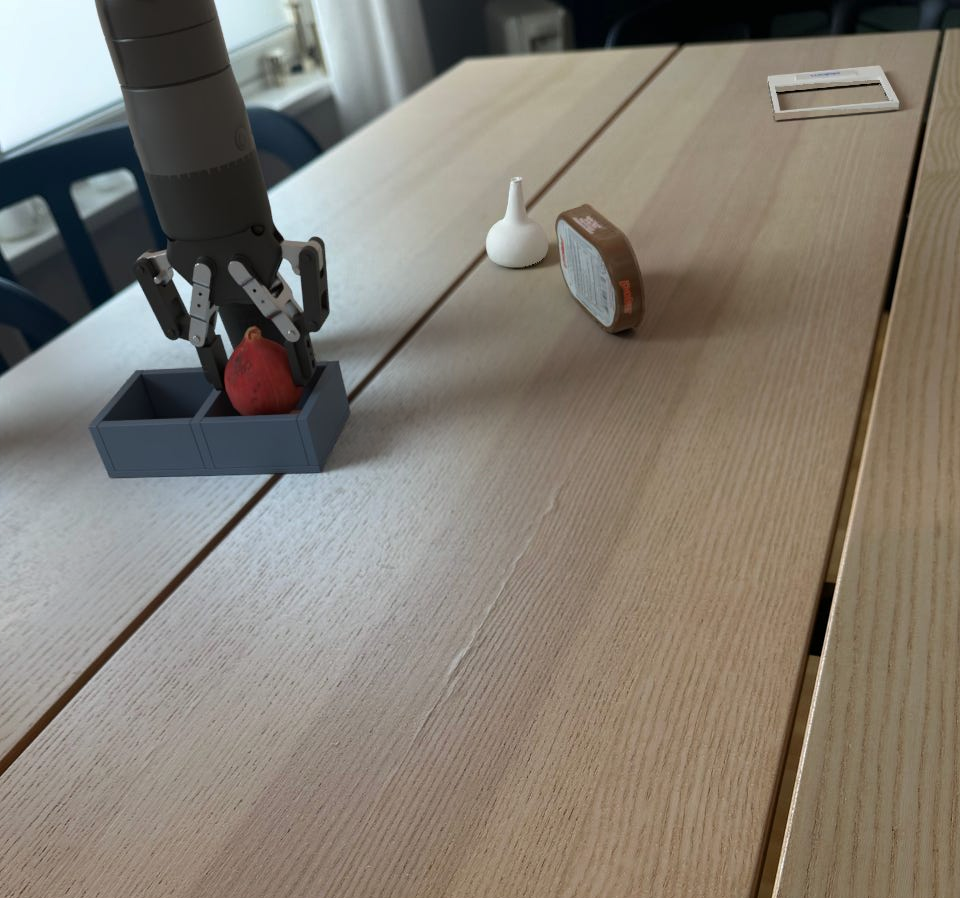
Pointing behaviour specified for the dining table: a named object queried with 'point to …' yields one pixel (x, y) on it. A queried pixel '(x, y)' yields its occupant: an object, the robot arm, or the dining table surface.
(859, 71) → the photo frame
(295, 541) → the dining table surface
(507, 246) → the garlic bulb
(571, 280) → the tin
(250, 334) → the pomegranate
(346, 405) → the compartment box
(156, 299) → the robot arm
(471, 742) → the dining table surface
